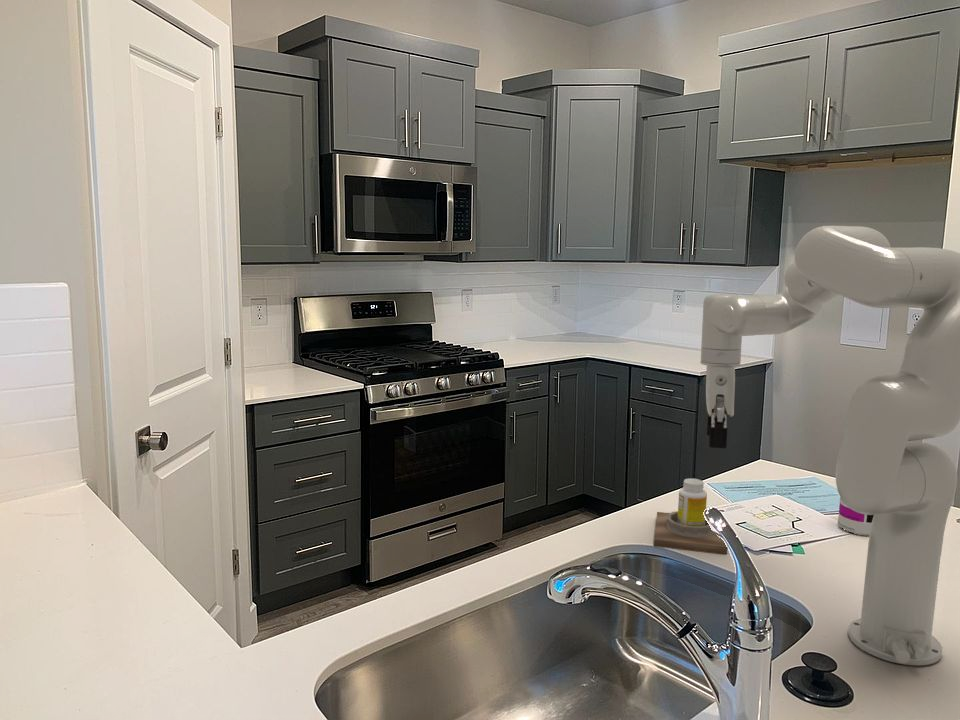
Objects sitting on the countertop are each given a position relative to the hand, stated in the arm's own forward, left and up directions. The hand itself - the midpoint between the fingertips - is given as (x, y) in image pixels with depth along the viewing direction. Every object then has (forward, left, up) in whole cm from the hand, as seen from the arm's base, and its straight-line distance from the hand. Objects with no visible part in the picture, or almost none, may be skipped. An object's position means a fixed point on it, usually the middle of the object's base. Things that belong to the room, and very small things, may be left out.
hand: (716, 441), depth 152 cm
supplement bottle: (+2, +4, -20) cm, 20 cm away
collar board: (+2, +4, -21) cm, 21 cm away
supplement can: (+16, -31, -21) cm, 41 cm away
